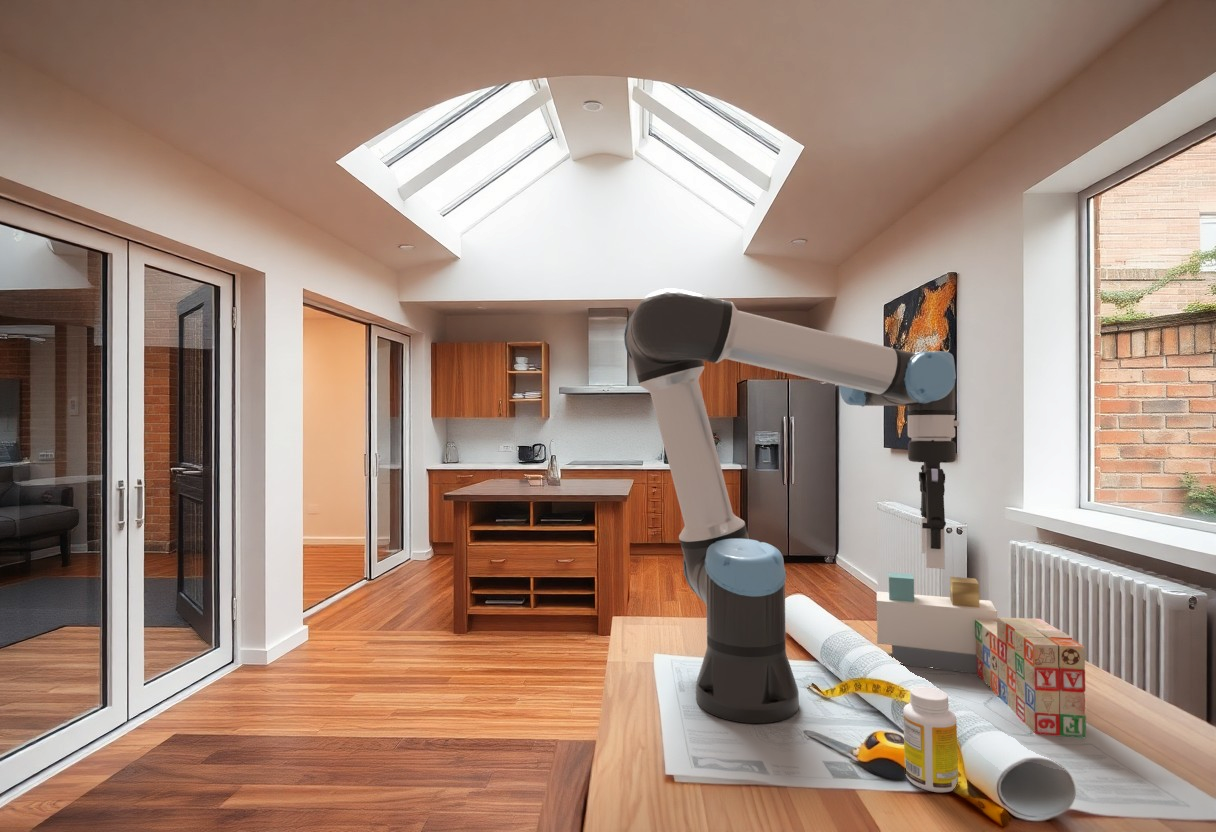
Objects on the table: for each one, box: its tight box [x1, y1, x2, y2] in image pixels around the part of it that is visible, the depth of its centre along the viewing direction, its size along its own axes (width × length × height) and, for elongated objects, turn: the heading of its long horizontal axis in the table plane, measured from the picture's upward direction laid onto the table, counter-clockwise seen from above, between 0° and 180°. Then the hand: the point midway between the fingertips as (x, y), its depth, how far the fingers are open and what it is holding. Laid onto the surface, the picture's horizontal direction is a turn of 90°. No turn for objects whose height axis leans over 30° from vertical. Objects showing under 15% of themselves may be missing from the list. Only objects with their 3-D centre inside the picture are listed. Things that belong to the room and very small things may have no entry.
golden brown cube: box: [949, 576, 980, 607], centre depth 111 cm, size 4×4×4 cm
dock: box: [891, 645, 977, 674], centre depth 113 cm, size 14×8×3 cm, turn 67°
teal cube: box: [888, 572, 915, 602], centre depth 115 cm, size 4×4×4 cm
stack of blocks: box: [975, 616, 1087, 738], centre depth 96 cm, size 21×6×12 cm, turn 169°
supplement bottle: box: [902, 686, 959, 793], centre depth 75 cm, size 6×6×10 cm
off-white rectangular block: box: [876, 591, 998, 654], centre depth 113 cm, size 18×7×8 cm, turn 67°
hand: (932, 560), depth 113 cm, fingers open, 13 cm apart
